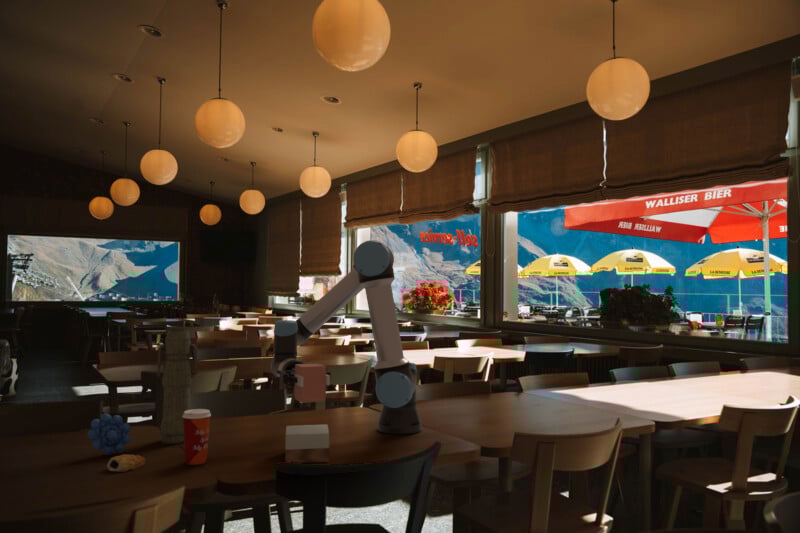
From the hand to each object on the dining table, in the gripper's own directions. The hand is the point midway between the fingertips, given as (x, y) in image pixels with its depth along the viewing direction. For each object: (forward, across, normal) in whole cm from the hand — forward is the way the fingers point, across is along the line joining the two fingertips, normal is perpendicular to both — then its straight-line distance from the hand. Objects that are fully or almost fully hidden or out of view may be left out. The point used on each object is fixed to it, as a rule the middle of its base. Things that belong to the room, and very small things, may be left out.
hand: (315, 381), depth 172 cm
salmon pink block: (-5, 0, -6) cm, 8 cm away
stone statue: (-40, +33, -22) cm, 56 cm away
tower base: (-5, 0, -22) cm, 23 cm away
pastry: (-14, +48, -23) cm, 55 cm away
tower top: (-5, 0, -18) cm, 19 cm away
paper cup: (-12, +30, -22) cm, 39 cm away
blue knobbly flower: (-29, +52, -23) cm, 63 cm away
